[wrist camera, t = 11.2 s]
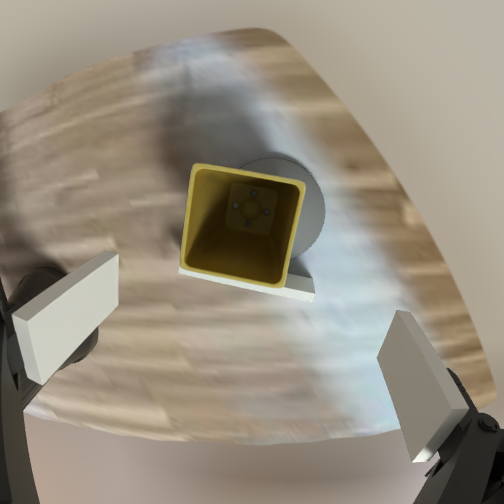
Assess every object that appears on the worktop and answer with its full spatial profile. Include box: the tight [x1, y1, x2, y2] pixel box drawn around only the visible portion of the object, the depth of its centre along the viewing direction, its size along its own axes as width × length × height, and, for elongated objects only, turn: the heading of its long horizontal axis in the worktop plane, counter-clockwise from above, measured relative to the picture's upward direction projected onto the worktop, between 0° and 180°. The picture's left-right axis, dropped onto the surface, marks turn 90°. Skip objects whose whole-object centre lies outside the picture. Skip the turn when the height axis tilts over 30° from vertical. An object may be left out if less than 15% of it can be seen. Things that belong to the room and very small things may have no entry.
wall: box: [179, 265, 315, 302], centre depth 34 cm, size 14×1×4 cm, turn 79°
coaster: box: [233, 158, 325, 259], centre depth 33 cm, size 11×11×1 cm
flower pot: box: [180, 163, 306, 288], centre depth 29 cm, size 9×9×9 cm
